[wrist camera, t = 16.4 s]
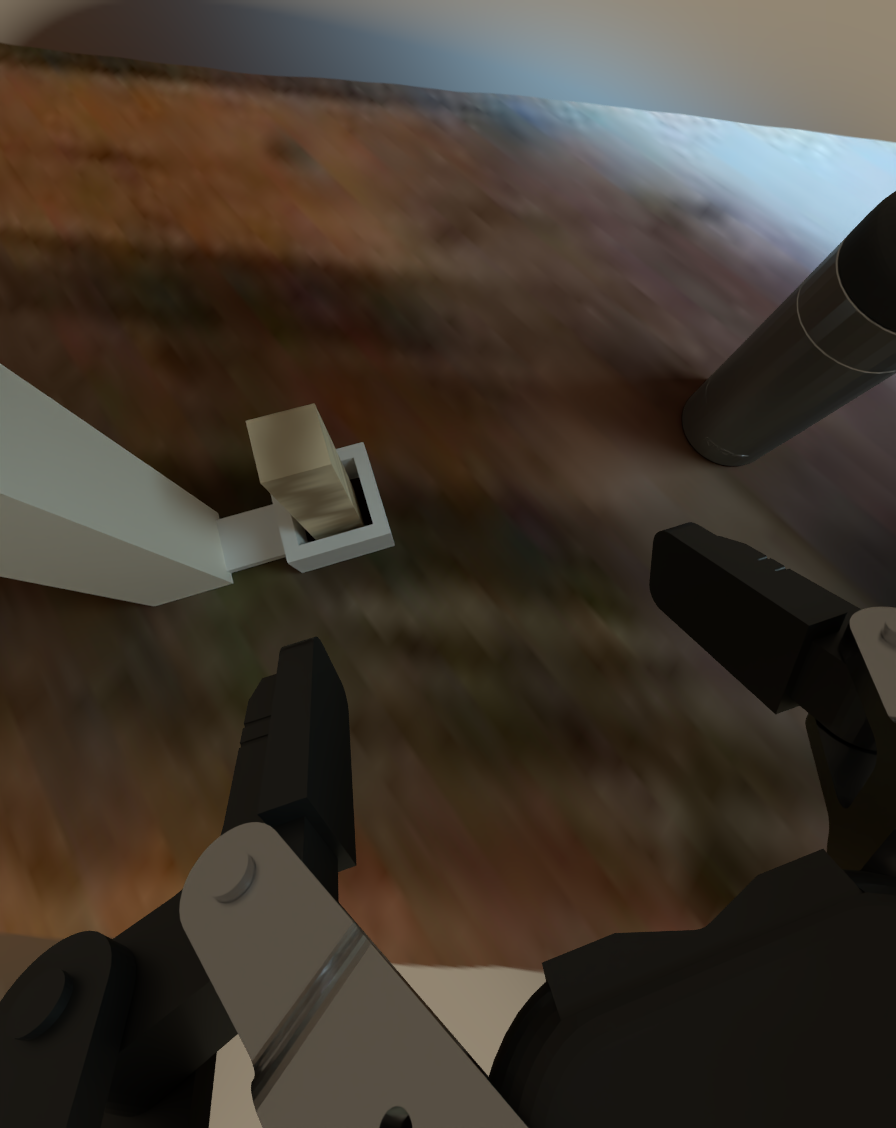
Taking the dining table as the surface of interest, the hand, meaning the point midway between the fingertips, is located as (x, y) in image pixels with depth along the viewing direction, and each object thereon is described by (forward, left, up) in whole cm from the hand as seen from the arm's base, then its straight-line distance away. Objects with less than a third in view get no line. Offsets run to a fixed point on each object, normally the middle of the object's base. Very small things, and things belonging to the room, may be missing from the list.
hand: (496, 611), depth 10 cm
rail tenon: (-6, -15, -29) cm, 33 cm away
